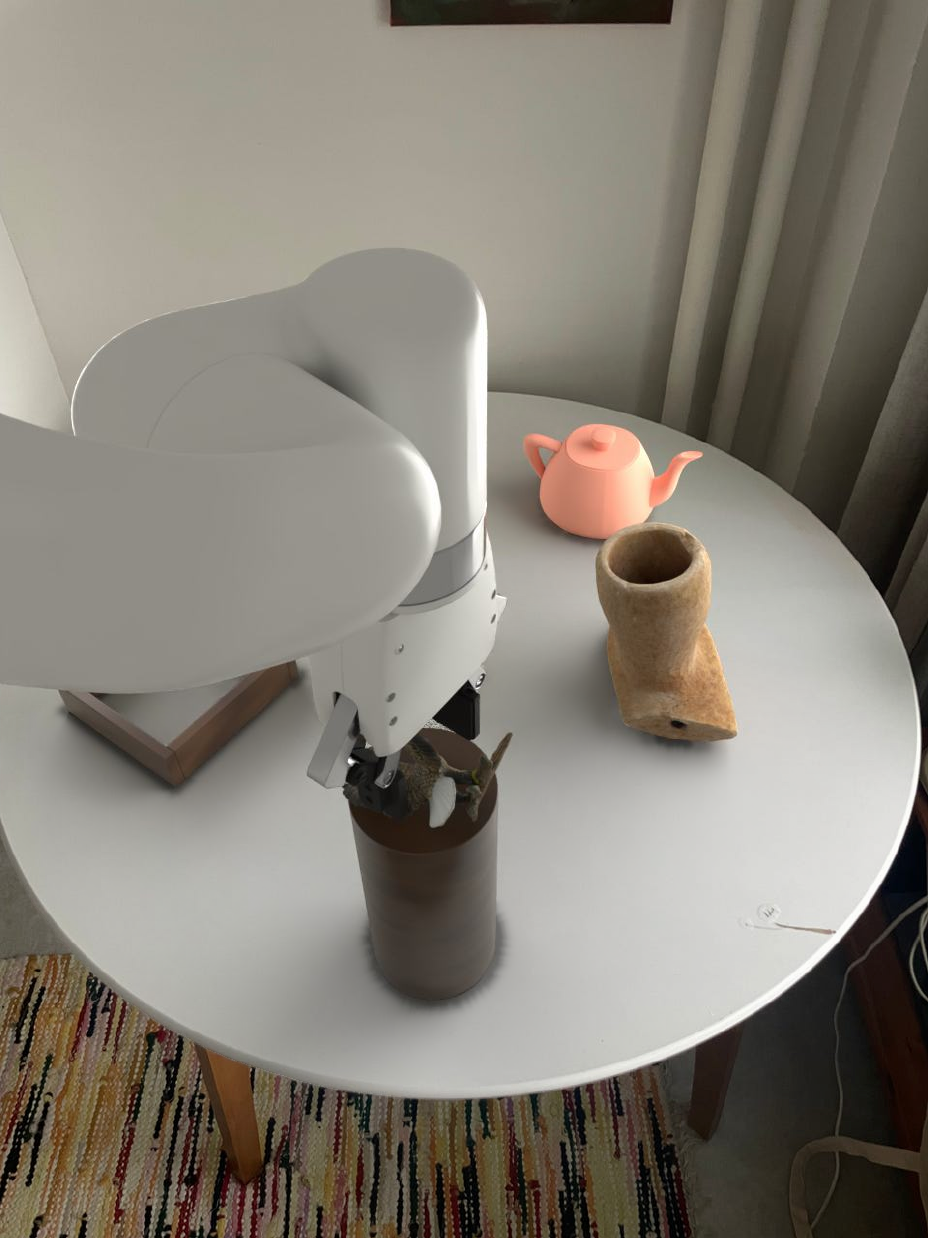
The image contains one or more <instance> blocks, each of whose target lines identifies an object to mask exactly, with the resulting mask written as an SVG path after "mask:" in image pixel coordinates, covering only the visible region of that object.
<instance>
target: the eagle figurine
mask: <svg viewBox="0 0 928 1238" xmlns="http://www.w3.org/2000/svg"><path fill="white" fill-rule="evenodd" d="M513 736H514V733H513V732H512V731H509V732H507V733H506V734H505V736H504V737H503V738H502V739H501V741H500V742H499V743H498V745H497V746H496V748H495V750H494V751H493V753H492V754H491V757H490V758H489V759H487V758H486V757H485V755H483V754H482V755H481V756H480V759H479V763H478V767H477V769H476V770H475V771H471V770H458V769H454V768H453V767H450V766H449V765H448V764H447V762H446V761H445V760H444V759H443V758H442V757H441V756H439V755H438V753H437V751H436V750H435V748H434V747H433V745H432V744H430V742H429V741H428V739H426V738H423V737H421V736H420V735H419V734H416V735H415V736H414V737H413V738H412V739H411V740H410V741H409V742H408V743H407V744H406V745H405V746H404V747H405V748H406V750H407V751H408V752H409V753H410V754H411V755H412V756H413V758H414V760H416V765H414V764H408V763H403V762H400V761H399V763H398V767H397V769H398V770H400V771H401V772H403V774H404V775H405V780H406V791H407V802H408V814H407V815H406V817H405V818H407V816H410V815H412V813H413V810H416V809H418V807H419V804H425V803H426V802H427V801H428V800H429V805H430V826H431V827H433V828H435V827H437V826H443V825H444V823H445V821H446V820H447V819H448V818H449V816H450V814H451V813H452V811H453V809H454V807H455V804H460V805H464V804H465V803H466V811H467V813H468V814H469V816H470V817H471V818H472V821H473V822H475V821H476V820H477V814H478V806H479V803H480V801H481V799H482V797H483V795H484V793H485V791H486V789H487V787H488V784H489V782H490V780H491V778H492V777H493V775H494V773H495V772H496V771H498V770H497V769H498V768H499V766H500V764H501V762H502V759H503V757H504V755H505V753H506V751H507V749H508V747H509V745H510V743H511V740H512V738H513ZM368 748H369V749H371V750H373V751H374V749H373V746H371V745H370V746H369V747H368ZM496 773H497V772H496ZM455 783H456V784H457V785H459V784H461V785H465V784H468V785H471V786H469V787H467V789H466V791H467V792H468V794H465V795H462V794H461V793H460V792H459V791H456V787H455ZM341 788H343V790H342V795H343V796H344V797H345V799H346V800H347V802H348V801H349V802H350V803H353V804H354V805H355V806H359V805H360V806H361V807H364V808H368V807H366V806H365V805H364V804H363V803H362V802H361V800H360V798H359V793H358V789H357V787H353V786H351V785H350V784H345V785H344V786H341ZM382 812H383V813H384V815H387V816H389V817H390V818H393V817H392V816H390V815H389V814H387V813H386V812H384V811H382Z"/></svg>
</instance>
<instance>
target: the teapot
mask: <svg viewBox="0 0 928 1238" xmlns="http://www.w3.org/2000/svg"><path fill="white" fill-rule="evenodd" d="M523 438H524V439H523V445H522V446H523V451H524V453H525V455H526V458H527V459H528V461H529V464H530V465H531V466H532V469H533V470H534V472H535V473H536V475H537V476H538V477H539V479H540V486H539V487H540V488H539V500H540V504H541V507H542V510H543V511H544V513H545V514H546V516H547V517H548V518H549V519H550V520H551V521H552V522H553V523H554V524H555V525H556V526H558V527H559V528H560V529H562V530H563V531H565V532H567V533H570V534H572V535H576V536H578V537H582V538H588V539H596V540H607V539H608V538H609V537H610V536H611V535H612V534H614V533H615V532H617V531H618V530H621V529H623V528H625V527H628V526H631V525H634V524H639V523H645V521H646V520H647V519H648V518H649V516H650V514H651V513H652V511H653V509H654V507H657V506H660V505H662V504H663V503H664V502H666V501H668V499H669V498H671V496H672V495H673V493H674V491H675V489H676V487H677V485H678V482H679V479H680V475H681V473H682V471H683V469H684V468H685V467H686V466H687V465H688V463H690V462H693V461H695V460H697V459H699V458H701V457H702V456H703V454H704V453H703V452H701V451H696V450H689V451H683V452H680V453H678V454H677V455H674V457H673V458H672V460H671V461H670V463H669V465H668V467H667V470H666V472H664V473H663V474H661V475H659V476H656V477H655V472H654V469H653V466H652V463H651V461H650V459H649V456H648V454H647V452H646V450H645V449H644V447H643V445H642V444H641V442H640V441H639V439H638V438H637V436H635V434H634V433H632V432H631V431H629V430H627V429H625V428H623V427H619V426H615V425H612V424H611V425H610V424H603V423H590V424H585V425H582V426H579V427H578V428H576V429H574V430H573V431H572V432H571V433H569V435H568V436H567V437H566V438H565V439H564V440H563V441H562V442H561V441H559V440H557V439H554V438H552V437H549V436H546V435H544V434H541V433H528V434H527V435H526V436H525V437H523ZM539 448H543V449H545V450H547V451H550V452H553V454H552V455H551V457H550V458H549V460H548V462H547V464H546V465H545V463H544V461H543V459H542V456H541V453H540V450H539Z"/></svg>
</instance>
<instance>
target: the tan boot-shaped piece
mask: <svg viewBox="0 0 928 1238" xmlns="http://www.w3.org/2000/svg"><path fill="white" fill-rule="evenodd" d="M712 577H713V574H712V562H711V559H710V556H709V554H708V552H707V549H706V548H705V546H704V545H703V543H702V542H701V541H700V539H698V537H697V536H696V535H694V534H693V533H691V532H690V531H689V530H687V529H686V528H684V527H681V526H678V525H675V524H671V523H666V522H659V521H657V522H653V521H652V522H643V523H639V524H634V525H631V526H628V527H625V528H623V529H621V530H618V531H617V532H615V533H614V534H612V535H611V536H610V537H609V538H608V539H605V541H604V542H603V543H602V545H601V546H600V548H599V549H598V551H597V554H596V557H595V582H596V590H597V596H598V600H599V603H600V604H599V605H600V607H601V609H602V611H603V614H604V616H605V618H606V621H607V623H608V626H609V627H608V632H607V639H606V654H607V661H608V662H607V663H608V667H609V671H610V675H611V679H612V680H611V681H612V683H613V687H614V691H615V696H616V700H617V703H618V706H619V707H618V708H619V713H620V717H621V719H622V722H623V724H625V725H626V726H628V727H630V728H633V729H636V730H640V732H641V731H642V732H644V733H647V734H649V735H653V736H657V737H662V738H667V739H671V740H683V741H691V742H706V741H708V742H717V741H726V740H732V739H734V738H736V737H737V735H738V732H739V729H738V724H737V719H736V715H735V711H734V710H735V709H734V704H733V701H732V698H731V696H730V692H729V687H728V685H727V683H726V676H725V672H724V669H723V666H722V662H721V658H720V655H719V652H718V649H717V647H716V644H715V642H714V639H713V637H712V635H711V634H712V633H711V631H710V629H709V628H708V626H707V624H706V621H707V618H708V615H709V612H710V608H711V601H712V600H711V599H712V598H711V597H712Z"/></svg>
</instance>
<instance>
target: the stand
mask: <svg viewBox="0 0 928 1238" xmlns="http://www.w3.org/2000/svg"><path fill="white" fill-rule="evenodd" d="M417 734H419V735H420V736H421V737H423V738H426V739H428V741H429V742H430V744H432V745H433V747H434V748H435V750H436V751H437V753H438V755H439V756H441V757H442V758H443V759H444V760H445V761H446V762H447V764H448V765H449V766H450V767H453V768H454V769H458V770H471V771H475V770H476V769H477V767H478V763H479V759H480V756H481V755H482V754H483V755H485V757H486V758H487V759H490V758H489V756H488V755H487V754H486V753H485V752H484V751H483V750H482V748H481V747H480V746H479V745H477V744H476V743H475V742H473V740H470V741H469V740H467V739H465V738H463V737H462V736H460V735H458V734H457V733H455V732H453V731H451V730H448V729H444V728H436V727H423V728H422V729H421V730H420V731H419V732H418V733H417ZM399 761H400V762H403V763H408V764H414V765H416V760H414V758H413V756H412V755H411V754H410V753H409V752H408V751H407V750H406V748H405V747H404V746H403V747H402V750H401V754H400V759H399ZM469 786H471V785H468V784H465V785H461V784H459V785H457V784H456V783H455V787H456V791H459V792H460V793H461V794H462V795H465V794H468V792H467V791H466V789H467V787H469ZM347 804H348V809H349V815H350V821H351V827H352V833H353V837H354V838H353V839H354V844H355V850H356V855H357V861H358V867H359V872H360V879H361V883H362V890H363V895H364V900H365V901H364V903H365V907H366V913H367V918H368V924H369V929H370V936H371V942H372V947H373V952H374V958H375V961H376V964H377V967H378V968H379V970H380V972H381V974H382V976H384V978H385V979H386V980H387V981H388V983H390V985H392V986H393V987H394V988H396V989H397V990H399V992H401V993H403V994H405V995H407V996H410V997H412V998H416V999H420V1000H425V1001H438V1000H440V1001H441V1000H446V999H451V998H453V997H456V996H459V995H461V994H463V993H465V992H467V991H468V990H470V989H471V988H473V987H474V986H475V985H476V984H477V983H479V981H480V980H481V979H482V978H483V977H484V976H485V974H486V973H487V971H488V970H489V968H490V966H491V964H492V961H493V958H494V955H495V951H496V939H497V938H496V937H497V935H496V933H497V890H498V889H497V887H498V886H497V884H498V883H497V881H498V835H499V834H498V829H499V828H498V827H499V823H498V822H499V780H498V775H497V772H495V773H494V775H493V777H492V778H491V780H490V782H489V784H488V787H487V789H486V791H485V793H484V795H483V797H482V799H481V801H480V803H479V806H478V814H477V820H476V821H475V822H473V821H472V818H471V817H470V816H469V814H468V813H467V811H466V803H465V804H464V805H460V804H455V807H454V809H453V811H452V813H451V814H450V816H449V818H448V819H447V820H446V821H445V823H444V825H443V826H437V827H435V828H433V827H431V826H430V805H429V800H428V801H427V802H426V803H425V804H419V807H418V809H416V810H413V813H412V815H410V816H407V818H404V819H403V820H402V821H398V820H396V819H395V818H390V817H389V816H387V815H384V813H383V812H381V813H380V814H378V813H375V812H374V811H372V810H371V809H369V808H364V807H361V806H360V805H359V806H355V805H354V804H353V803H350V802H349V801H348V800H347Z"/></svg>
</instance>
